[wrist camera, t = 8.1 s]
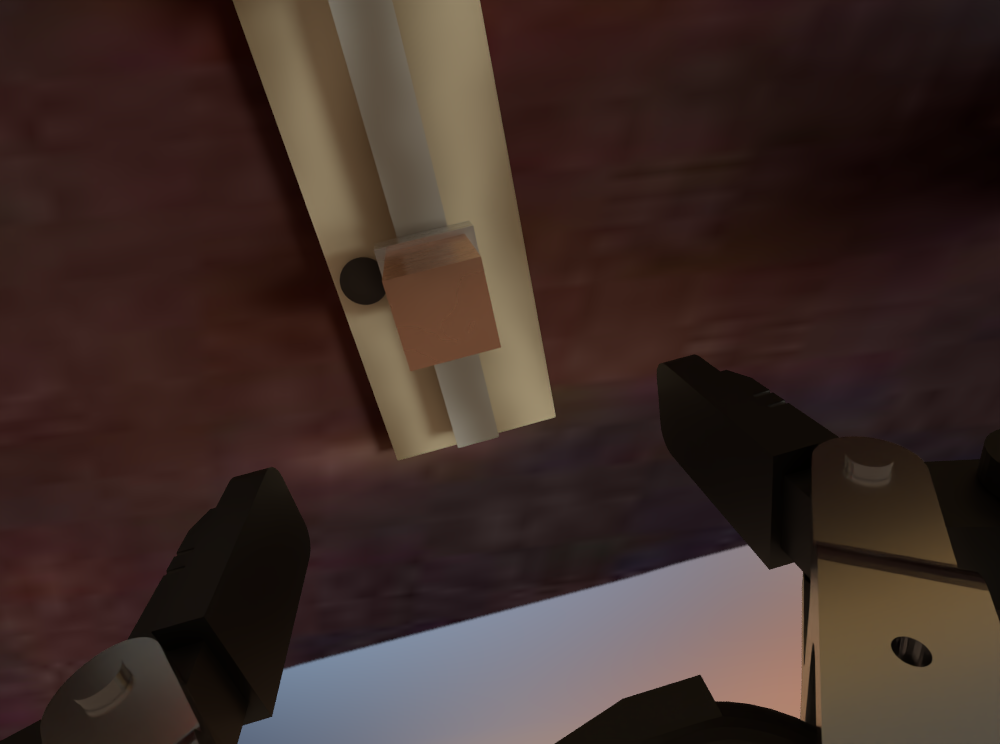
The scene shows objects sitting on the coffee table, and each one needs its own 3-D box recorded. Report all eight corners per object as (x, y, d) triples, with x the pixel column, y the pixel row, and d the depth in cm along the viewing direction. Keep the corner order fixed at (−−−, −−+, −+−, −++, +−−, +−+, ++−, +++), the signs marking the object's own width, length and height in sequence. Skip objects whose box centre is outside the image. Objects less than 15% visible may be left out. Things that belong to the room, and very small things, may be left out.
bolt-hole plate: (427, -248, 20) (438, -412, 14) (549, 405, 33) (581, 462, 27) (167, -205, 19) (64, -358, 13) (397, 447, 32) (397, 514, 26)
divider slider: (463, 215, 25) (492, 246, 18) (481, 291, 27) (513, 350, 19) (377, 236, 25) (366, 277, 17) (400, 311, 27) (400, 380, 19)
